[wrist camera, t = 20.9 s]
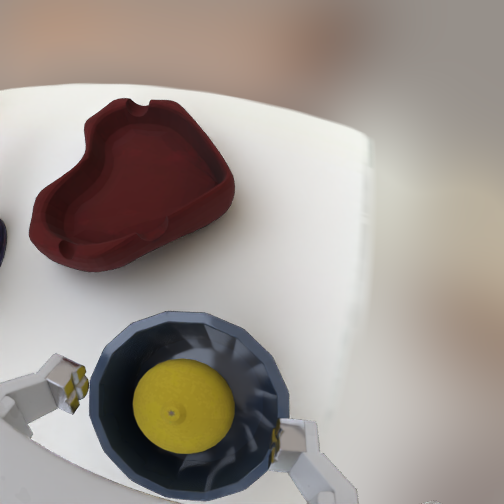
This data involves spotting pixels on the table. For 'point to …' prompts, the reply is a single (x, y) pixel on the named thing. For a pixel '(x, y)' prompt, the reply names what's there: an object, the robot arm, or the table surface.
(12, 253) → the table surface
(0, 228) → the dark blue barrel
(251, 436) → the cup
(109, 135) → the ashtray
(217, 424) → the lemon
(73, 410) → the robot arm
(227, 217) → the table surface
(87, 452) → the table surface
